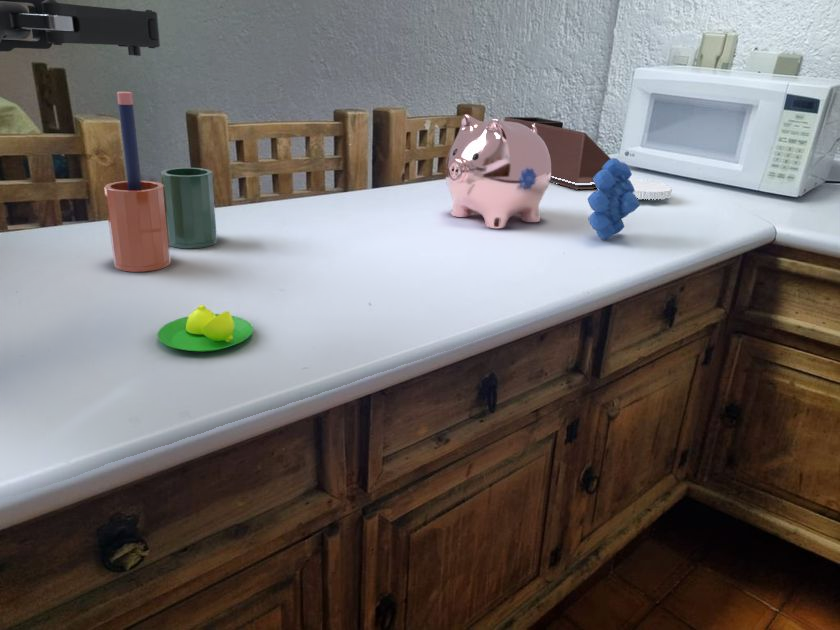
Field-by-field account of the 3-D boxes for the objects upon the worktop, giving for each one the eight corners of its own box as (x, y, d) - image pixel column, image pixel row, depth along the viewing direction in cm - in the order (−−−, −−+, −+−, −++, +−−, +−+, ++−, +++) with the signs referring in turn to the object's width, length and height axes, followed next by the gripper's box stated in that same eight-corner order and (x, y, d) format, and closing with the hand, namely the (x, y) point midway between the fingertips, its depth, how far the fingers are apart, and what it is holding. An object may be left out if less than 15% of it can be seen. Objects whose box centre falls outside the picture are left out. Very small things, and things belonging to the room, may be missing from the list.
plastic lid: (649, 208, 120) (652, 194, 119) (582, 194, 129) (584, 181, 128) (681, 199, 130) (684, 186, 129) (616, 187, 138) (618, 175, 137)
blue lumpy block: (615, 253, 91) (630, 165, 86) (571, 242, 95) (583, 158, 90) (647, 238, 99) (663, 158, 95) (606, 229, 103) (618, 151, 99)
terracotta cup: (103, 268, 73) (92, 188, 70) (133, 254, 79) (124, 178, 76) (153, 274, 73) (145, 193, 69) (180, 259, 78) (173, 183, 75)
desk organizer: (532, 164, 161) (538, 116, 157) (615, 188, 137) (624, 132, 133) (496, 165, 156) (501, 116, 152) (575, 190, 132) (584, 132, 128)
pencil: (133, 259, 75) (114, 92, 68) (140, 256, 76) (121, 91, 69) (144, 261, 75) (126, 93, 68) (151, 257, 76) (134, 92, 69)
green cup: (158, 246, 82) (151, 173, 79) (182, 234, 88) (176, 166, 85) (203, 250, 82) (198, 178, 78) (224, 238, 87) (220, 169, 84)
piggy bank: (418, 214, 106) (423, 111, 100) (495, 203, 117) (505, 110, 111) (485, 237, 95) (496, 122, 89) (564, 222, 106) (578, 120, 100)
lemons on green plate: (271, 331, 60) (270, 302, 59) (213, 365, 53) (210, 333, 52) (201, 314, 63) (199, 286, 62) (137, 344, 56) (133, 313, 55)
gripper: (-305, 70, 39) (-65, 63, 58) (125, 93, 40) (219, 79, 59) (-354, -76, 36) (-84, -32, 56) (109, -47, 37) (213, -14, 56)
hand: (72, 25), depth 57 cm, fingers open, 13 cm apart
